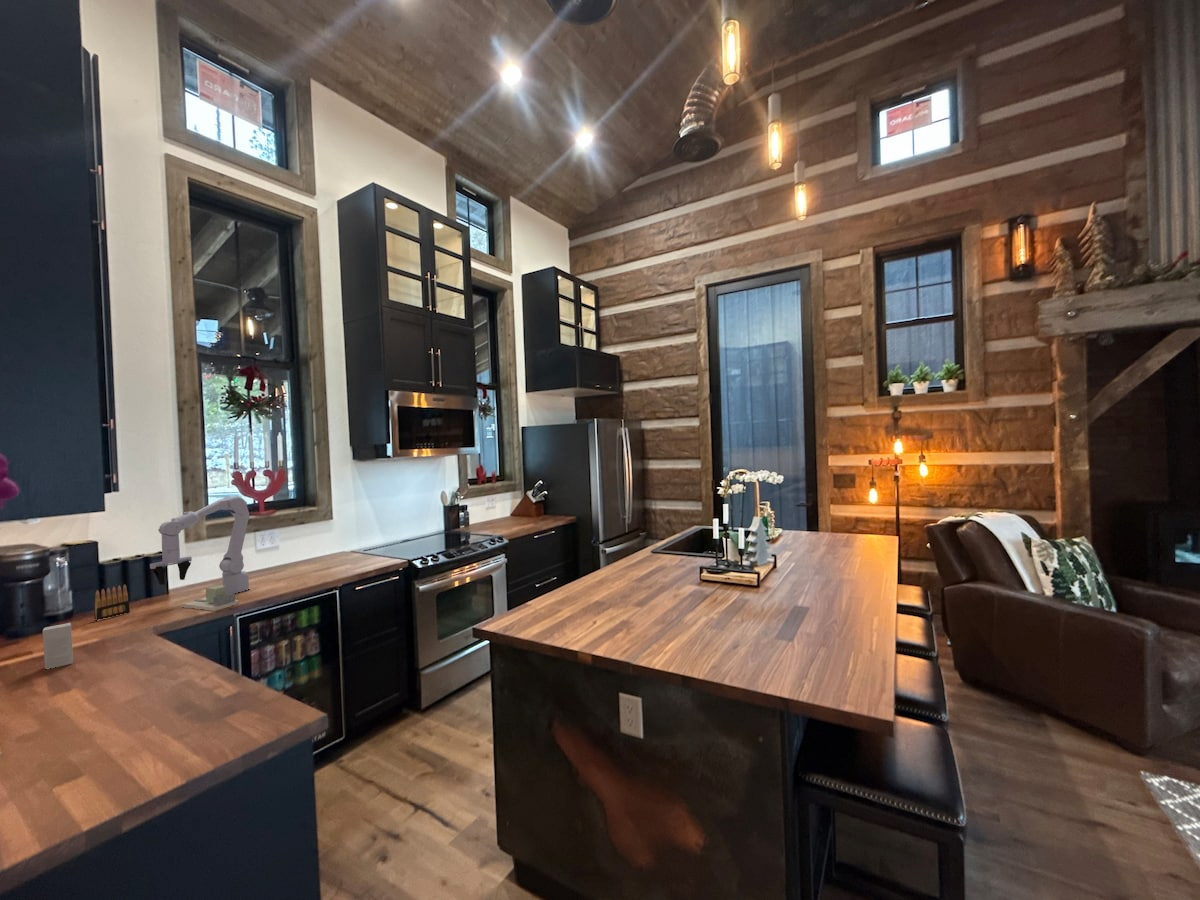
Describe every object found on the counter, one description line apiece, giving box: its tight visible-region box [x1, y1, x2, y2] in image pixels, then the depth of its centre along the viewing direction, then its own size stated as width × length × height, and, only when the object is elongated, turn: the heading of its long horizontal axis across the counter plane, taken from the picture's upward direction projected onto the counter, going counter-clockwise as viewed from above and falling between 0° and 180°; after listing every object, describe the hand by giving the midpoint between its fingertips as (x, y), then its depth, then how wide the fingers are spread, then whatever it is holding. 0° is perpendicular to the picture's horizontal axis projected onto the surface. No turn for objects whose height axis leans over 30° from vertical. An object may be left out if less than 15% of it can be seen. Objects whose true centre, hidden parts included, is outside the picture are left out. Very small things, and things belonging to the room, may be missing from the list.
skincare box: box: [42, 622, 74, 670], centre depth 159 cm, size 6×4×12 cm
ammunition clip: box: [93, 583, 131, 620], centre depth 207 cm, size 11×2×12 cm, turn 159°
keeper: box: [205, 585, 226, 603], centre depth 216 cm, size 4×6×6 cm, turn 69°
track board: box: [182, 597, 240, 612], centre depth 218 cm, size 10×20×2 cm, turn 69°
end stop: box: [213, 593, 236, 606], centre depth 215 cm, size 7×2×4 cm, turn 159°
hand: (172, 581), depth 219 cm, fingers open, 7 cm apart
